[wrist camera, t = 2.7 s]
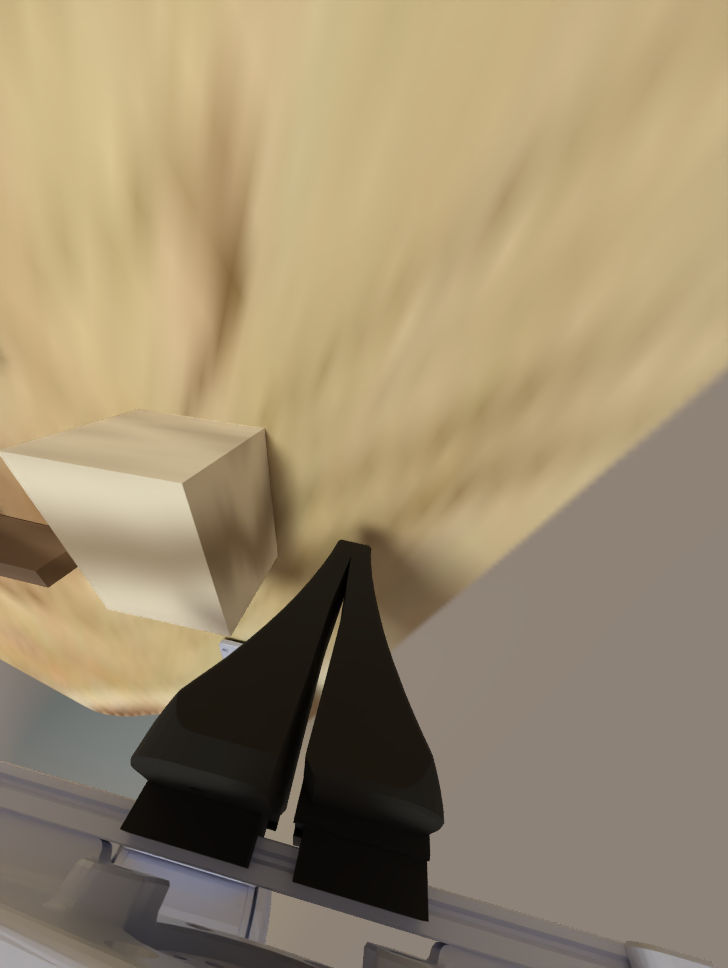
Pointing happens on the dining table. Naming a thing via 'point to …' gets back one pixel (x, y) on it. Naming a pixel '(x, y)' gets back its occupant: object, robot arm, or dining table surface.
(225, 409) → the dining table surface
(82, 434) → the maple block
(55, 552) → the walnut stop
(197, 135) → the dining table surface
